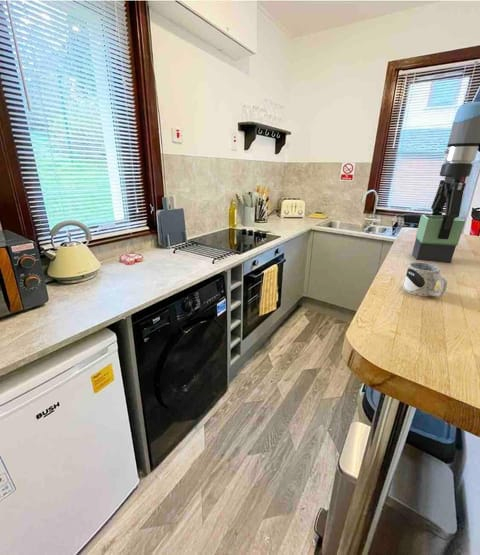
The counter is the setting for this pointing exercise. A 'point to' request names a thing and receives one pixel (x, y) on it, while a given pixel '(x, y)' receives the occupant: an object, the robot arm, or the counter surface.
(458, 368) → the counter surface
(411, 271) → the mug
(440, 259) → the charcoal basket
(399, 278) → the counter surface
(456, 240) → the green basket
